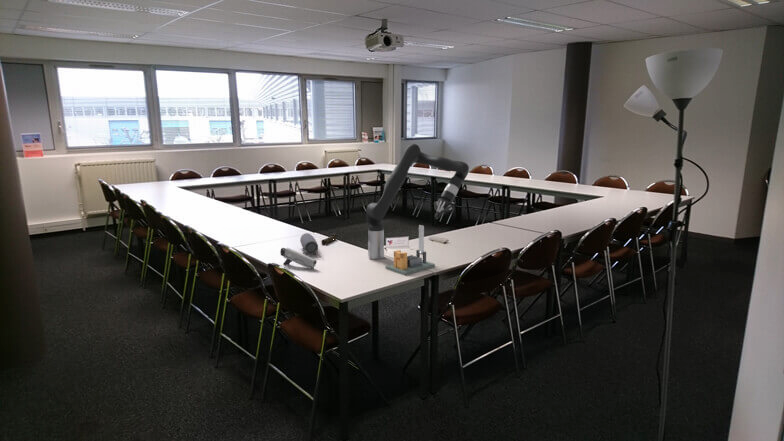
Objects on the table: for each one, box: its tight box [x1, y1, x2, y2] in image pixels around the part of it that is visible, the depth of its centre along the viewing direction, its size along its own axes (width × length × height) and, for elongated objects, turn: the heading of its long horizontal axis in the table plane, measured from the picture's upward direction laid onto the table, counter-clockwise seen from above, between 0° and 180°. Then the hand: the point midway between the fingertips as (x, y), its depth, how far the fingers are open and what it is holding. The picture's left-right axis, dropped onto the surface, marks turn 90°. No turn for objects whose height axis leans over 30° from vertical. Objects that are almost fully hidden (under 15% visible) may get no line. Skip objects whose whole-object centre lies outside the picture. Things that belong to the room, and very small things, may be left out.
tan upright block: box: [393, 249, 408, 270], centre depth 254 cm, size 4×7×9 cm, turn 41°
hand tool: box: [321, 232, 338, 246], centre depth 319 cm, size 19×4×5 cm, turn 157°
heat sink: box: [407, 254, 423, 268], centre depth 260 cm, size 9×9×4 cm
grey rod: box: [418, 224, 425, 256], centre depth 263 cm, size 2×3×17 cm, turn 41°
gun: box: [279, 247, 317, 270], centre depth 263 cm, size 2×25×10 cm, turn 62°
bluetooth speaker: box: [299, 233, 319, 255], centre depth 294 cm, size 23×9×10 cm, turn 18°
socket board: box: [385, 249, 436, 276], centre depth 259 cm, size 23×16×8 cm
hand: (436, 218), depth 268 cm, fingers closed
